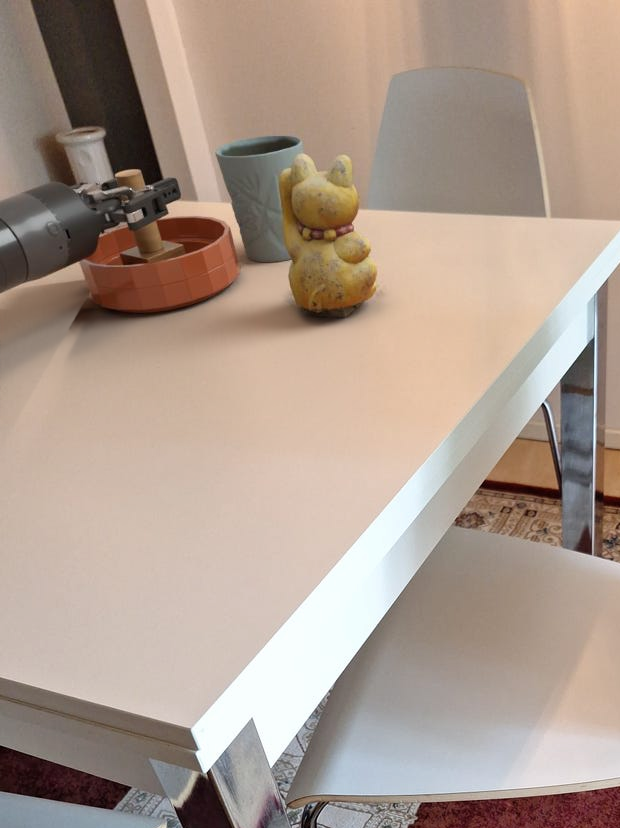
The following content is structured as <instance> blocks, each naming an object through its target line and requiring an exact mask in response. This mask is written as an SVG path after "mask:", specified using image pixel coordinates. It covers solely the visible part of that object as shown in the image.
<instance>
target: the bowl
mask: <svg viewBox="0 0 620 828" xmlns="http://www.w3.org/2000/svg"><path fill="white" fill-rule="evenodd" d="M156 223H157V226H158V230H159V233H160V236H161V240H163V241H168V242H172V243H177V244H182V245H184V249H185V252H186V254H185V255H182V256H179V257H175V258H171V259H167V260H162V261H158V262H152V263H144V264H136V265H123V263H122V260H121V257H120V254H119V253H121V252H123V251H126V250H129V249H131V248H134V247H136V246H137V244H136V241H135V238H134V234H133V231H130V230H129V228H128V225H126V226H123V227H120V228H117V230H116V231H113V232H109V233H105V234H101V233H100V235H99V240H98V246H97V249H96V251H95V252H94V254H93V255H91V256H90V257H88V258H86V259H83V260H81V261H79V262H78V263H79V266H80V268H81V270H82V275H83V276H84V279H85V282H86V285H87V288H88V290H89V293H90V296H91V299H92V301H93V303H95V304H97V305H99V306H101V307H103V308H106V309H112V310H115V311H117V312H118V311H119V312H122V313H130V314H131V313H132V314H147V313H158V312H165V311H171V310H176V309H180V308H184V307H188V306H191V305H195V304H198V303H200V302H203V301H206V300H208V299H211V298H212V297H214V296H216V295H218V294H219V293H221V292H222V291H224V290H225V289H226V288H227V287H228V286H229V285H231V284H232V283H233V282H234V281H235V280H236V279H238V277H239V275H240V271H241V266H240V262H239V258H238V253H237V248H236V245H235V241H234V238H233V234H232V228H231V226H230V225H229V224H228V223H227V222H226V221H225V220H222V219H219V218H215V217H211V216H203V215H202V216H201V215H183V216H168V217H162V218H160V219H158V220H156Z"/></svg>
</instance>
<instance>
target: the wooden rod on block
mask: <svg viewBox="0 0 620 828" xmlns="http://www.w3.org/2000/svg"><path fill="white" fill-rule="evenodd" d="M114 178H116V181H117V184H118V187H119V188H120V187H124V186H127V187H129V188H131V189H132V190H134V189H138V188H142V187H145V186H146V183H145V180H144V177H143V173H142V170H141V169H137V168H136V169H126V170H122V171H119V172H117V173H115V174H114ZM121 197H122V200H123V203H125V201H126V198H125V196H124V195H121ZM137 197H138V196H137ZM133 234H134V238H135V241H136V244H137V246H136V247H134V248H131V249H129V250H126V251H123V252H121V253H119V254H120V257H121V260H122V263H123V265H136V264H144V263H152V262H158V261H162V260H167V259H171V258H175V257H179V256H182V255H185V254H186V252H185V249H184V245H182V244H177V243H172V242H168V241H163V240H161V236H160V233H159V230H158V226H157V223H156V221H154V222H152V223H150V224H148V225H146V226H144V227H142V228H141V229H138V230H137V231H133Z"/></svg>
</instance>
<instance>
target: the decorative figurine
mask: <svg viewBox="0 0 620 828" xmlns="http://www.w3.org/2000/svg"><path fill="white" fill-rule="evenodd" d="M353 165H354V164H353V161H352V159H351V158H350V156H348V155H347V154H340V155H338V156H336V157H335V158H334V159H333V161H332V162H331V164H330V165H329V168H328V170H327V171H318V170H317V168H316V165H315V162H314V161H313V159H312V158H311V157H310V156H309V155H308V154H305V153H304V152H303V153H301V154H298V155H297V156H295V158H294V159H293V163H292V167H291V168H287V169H284V170H283V171H282V172H281V173H280V175H279V192H280V199H281V207H282V226H283V236H284V241H285V245H286V249H287V251H288V253H289V255H290V257H291V259H290V260H291V263H290V264H289V268H288V275H287V276H288V282H289V287H290V290H291V293H292V296H293V298H294V302H295V304H296V305H297V306H298V307H300V308H303V309H304V316H307V317H308V316H309V317H310V316H314V317H315V316H317V317H331V318H347V316H349V315H350V314H351V313H352V312H353V311H354V310H355V309H359V308H360V307H361V305H363V304H364V302H366V301H368V300H370V299H371V298H372V297H373V296H374V294H375V293H376V291H377V287H378V285H377V283H376V280H377V276H378V268H377V264H376V262H375V261H374V259H373V258H372V257H371V256H369V255H370V253H371V251H372V247H371V243H370V240H369V239H368V238H366V237H365V236H364V235H363V236H362V235H360V233H357V232H356V231H355V230H354V229H355V226H354V224H353V222H354V220H355V219H356V218H357V216H358V214H359V208H360V195H359V194H358V192H357V189H356V187H355V186H354V182H353V181H354V166H353Z"/></svg>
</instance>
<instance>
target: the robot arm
mask: <svg viewBox="0 0 620 828" xmlns="http://www.w3.org/2000/svg"><path fill="white" fill-rule="evenodd" d="M121 195H124V196H125V198H126V201H125V203H124V204H122V201H123V200H122V197H121ZM137 196H138V197H137ZM181 197H182V192H181V188H180V185H179V181H178V180H177V177H170V176H169V177H167V178H164V179H161V180H159V181H156V182H154V183H151V184H148V185H145V187H142V188H138V189H134V190H132V189H131V188H129V187H127V186H124V187H120V188H119V187H118V184H117V181H116V178H115V177H113V178H111V179H108V180H106V181H99V180H98V181H97V180H96V181H95V182H92V183H88V182H84V181H81V182H79V183H77V184H73V185H70V186H69V185H67V184H65V183H63V182H60V181H50V182H46V183H44V184H41V185H39V186H35V187H33V188H30V189H28V190H25V191H21V192H19V193H16V194H15V195H12V196H9V197H6V198H3V199H1V200H0V295H1V294H2V293H5V292H7V291H10V290H12V289H14V288H16V287H18V286H20V285H23V284H27V283H30V282H33V281H37V280H40V279H43V278H45V277H47V276H50V275H52V274H54V273H57V272H59V271H61V270H63V269H66V268H67V267H70V266H72V265H75V264H77V263H79V261H81V260H83V259H86V258H88V257H90V256H91V255H93V254H94V252H95V251H96V249H97V246H98V240H99V235H101V234H105V233H109V232H113V231H116V230H117V228H119V227H122V226H126V225H128V228H129V230H130V231H137V230H138V229H141V228H142V227H144V226H146V225H148V224H150V223H152V222H154V221H156V220H158V219H160V218H165V217H166V216H167V215H169V214H170V213H169V212H170V211H169V209H168V207H167V205H169V204H171V203H174V202H176V201H178V200H180V199H181Z"/></svg>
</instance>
